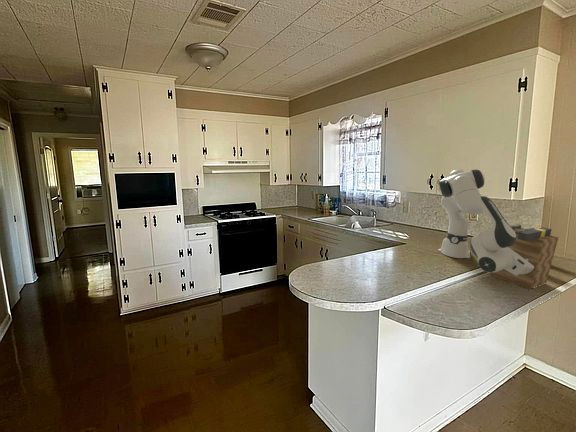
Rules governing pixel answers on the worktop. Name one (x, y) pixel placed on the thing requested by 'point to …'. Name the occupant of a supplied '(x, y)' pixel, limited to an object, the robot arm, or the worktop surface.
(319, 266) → the worktop surface
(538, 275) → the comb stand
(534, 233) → the dark long bar piece
